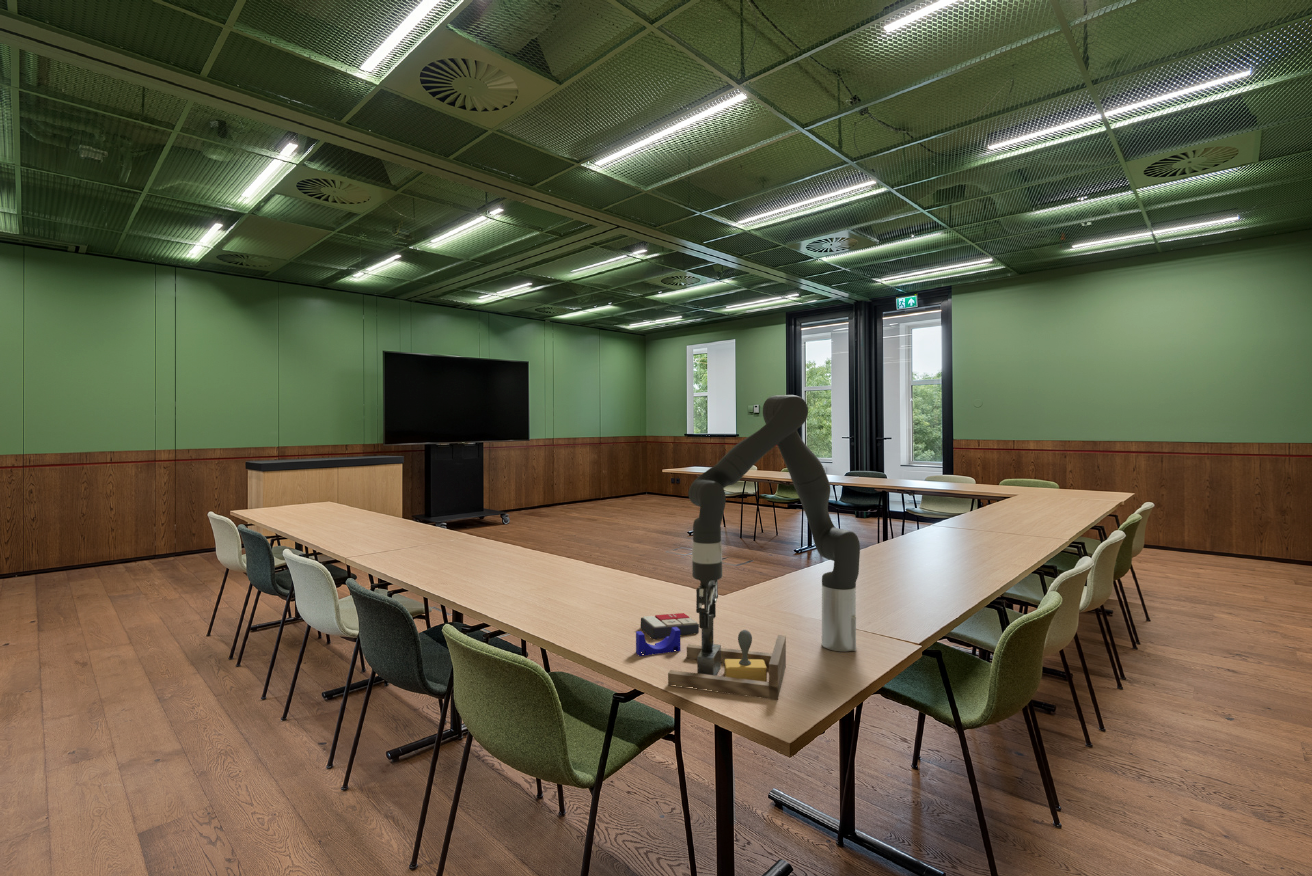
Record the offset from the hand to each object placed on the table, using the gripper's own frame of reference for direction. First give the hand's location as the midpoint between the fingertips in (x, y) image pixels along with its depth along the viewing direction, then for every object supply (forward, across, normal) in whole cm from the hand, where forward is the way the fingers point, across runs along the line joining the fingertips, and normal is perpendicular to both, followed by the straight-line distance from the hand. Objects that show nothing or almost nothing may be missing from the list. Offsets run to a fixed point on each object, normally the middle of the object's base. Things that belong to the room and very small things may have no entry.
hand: (707, 622), depth 151 cm
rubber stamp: (+13, 0, -9) cm, 16 cm away
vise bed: (+13, 0, -6) cm, 14 cm away
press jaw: (+12, 0, 0) cm, 12 cm away
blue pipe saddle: (+13, +11, +17) cm, 24 cm away
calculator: (+13, +28, +18) cm, 36 cm away
